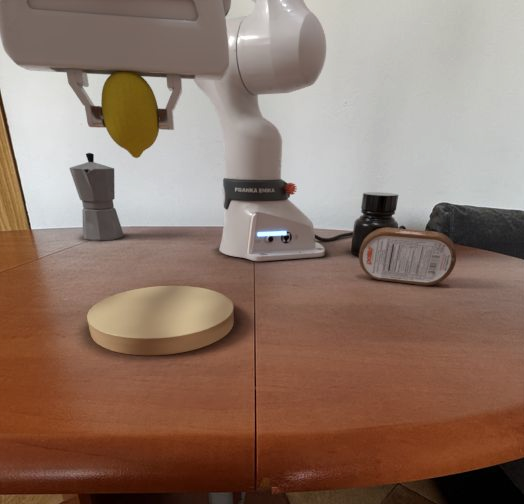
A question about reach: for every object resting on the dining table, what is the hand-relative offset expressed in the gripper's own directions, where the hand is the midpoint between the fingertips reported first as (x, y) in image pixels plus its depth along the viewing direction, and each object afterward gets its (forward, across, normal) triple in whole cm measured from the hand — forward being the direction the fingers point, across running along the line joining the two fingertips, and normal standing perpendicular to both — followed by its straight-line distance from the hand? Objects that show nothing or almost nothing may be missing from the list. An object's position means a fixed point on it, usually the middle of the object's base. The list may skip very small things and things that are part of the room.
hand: (132, 128), depth 39 cm
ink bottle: (+21, -42, -29) cm, 56 cm away
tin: (+21, -39, -10) cm, 46 cm away
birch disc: (+21, -2, +3) cm, 21 cm away
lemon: (+3, 0, 0) cm, 3 cm away
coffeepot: (+21, +17, -52) cm, 59 cm away
